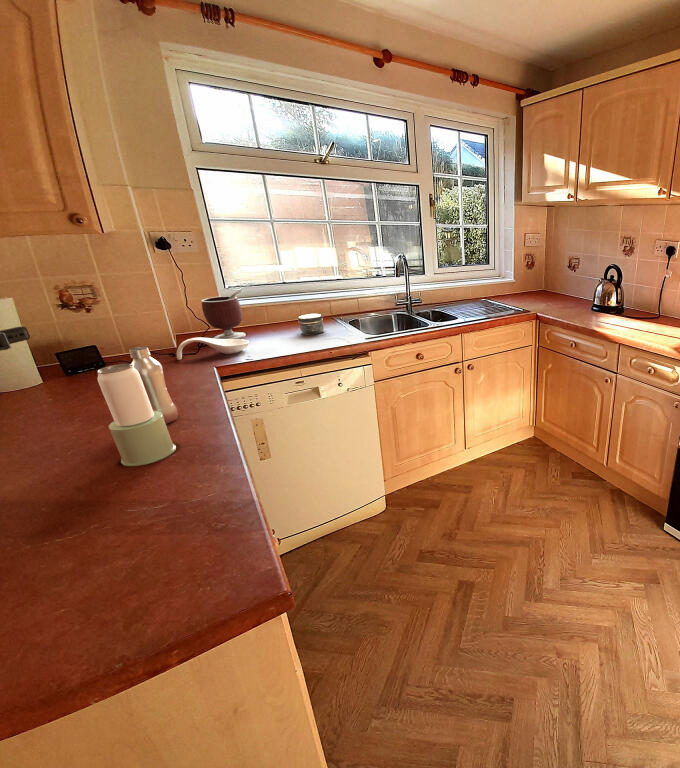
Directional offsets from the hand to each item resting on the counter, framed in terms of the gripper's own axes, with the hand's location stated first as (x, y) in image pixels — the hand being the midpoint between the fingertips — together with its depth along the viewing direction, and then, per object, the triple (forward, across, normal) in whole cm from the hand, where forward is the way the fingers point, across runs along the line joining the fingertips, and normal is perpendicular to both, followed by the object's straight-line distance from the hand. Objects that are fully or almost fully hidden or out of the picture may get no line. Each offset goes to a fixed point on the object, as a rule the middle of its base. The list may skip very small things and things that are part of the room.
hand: (3, 332), depth 70 cm
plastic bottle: (+29, +8, +32) cm, 44 cm away
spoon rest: (+85, +38, +32) cm, 99 cm away
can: (+13, -3, +23) cm, 27 cm away
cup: (+13, -2, +32) cm, 35 cm away
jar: (+118, +17, +32) cm, 124 cm away
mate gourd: (+110, +50, +32) cm, 124 cm away
